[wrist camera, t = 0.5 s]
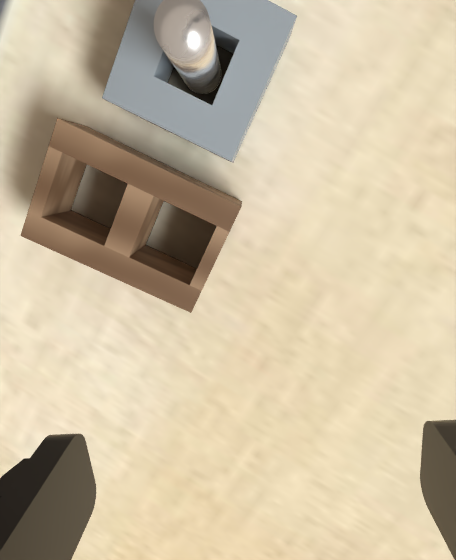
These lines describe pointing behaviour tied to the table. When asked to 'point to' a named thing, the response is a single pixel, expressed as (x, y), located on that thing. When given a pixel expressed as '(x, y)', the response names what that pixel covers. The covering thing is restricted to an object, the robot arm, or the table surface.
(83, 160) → the walnut rack
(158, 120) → the socket block
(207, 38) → the steel rod
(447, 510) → the robot arm
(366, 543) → the table surface
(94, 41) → the table surface
